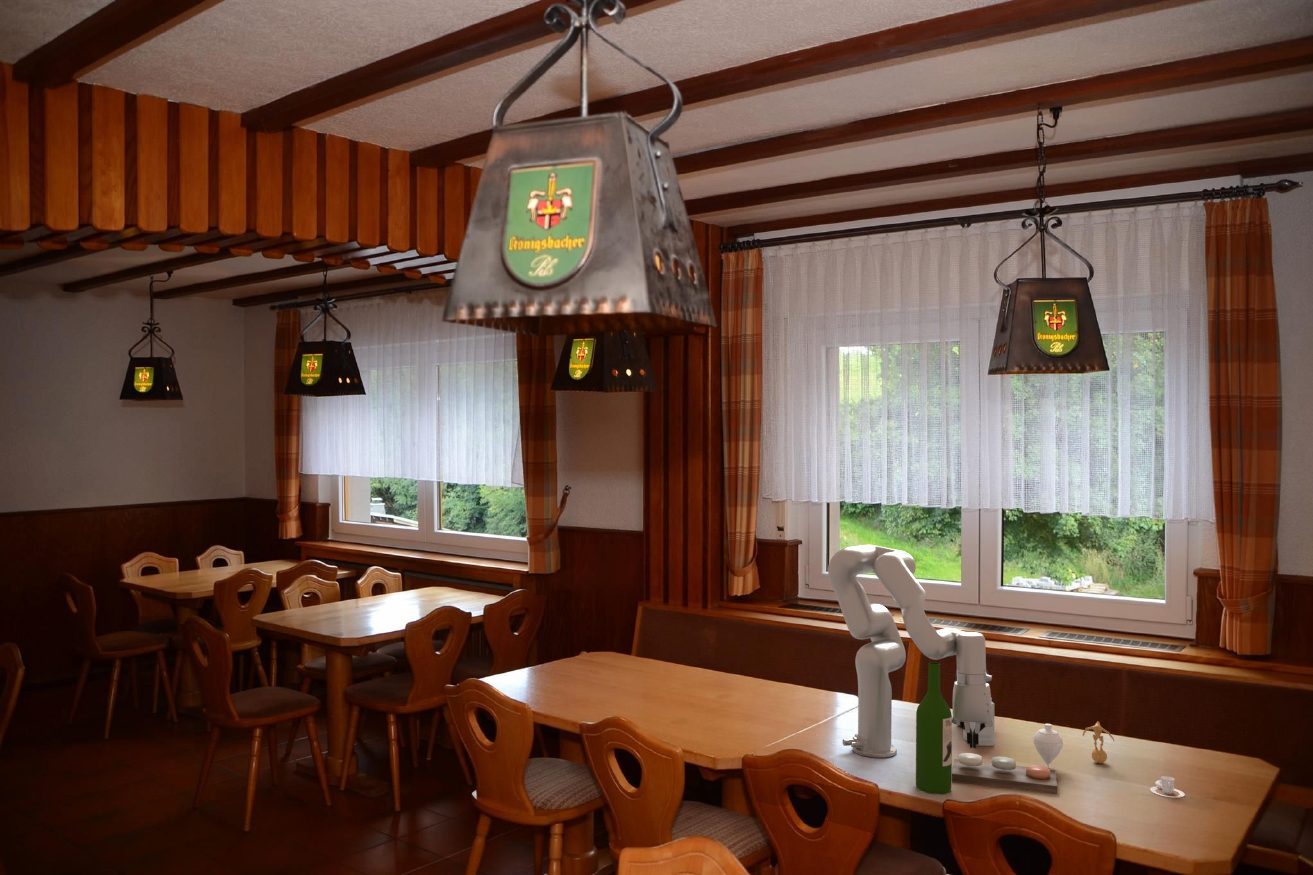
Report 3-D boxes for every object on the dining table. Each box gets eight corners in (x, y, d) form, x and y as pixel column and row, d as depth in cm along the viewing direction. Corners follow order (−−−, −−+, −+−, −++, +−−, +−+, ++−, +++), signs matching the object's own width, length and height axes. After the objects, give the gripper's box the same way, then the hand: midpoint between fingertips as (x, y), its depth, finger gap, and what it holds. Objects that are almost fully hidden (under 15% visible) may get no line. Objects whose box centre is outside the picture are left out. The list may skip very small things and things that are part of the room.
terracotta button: (1035, 779, 251) (1035, 773, 251) (1020, 771, 257) (1020, 765, 257) (1055, 777, 253) (1055, 771, 253) (1040, 770, 259) (1040, 764, 259)
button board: (1057, 793, 247) (1057, 786, 247) (951, 781, 256) (951, 773, 256) (1054, 777, 259) (1054, 770, 260) (954, 765, 268) (954, 758, 268)
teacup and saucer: (1154, 785, 255) (1154, 769, 255) (1188, 792, 250) (1188, 776, 250) (1146, 794, 249) (1146, 778, 249) (1181, 801, 244) (1181, 785, 244)
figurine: (1116, 763, 271) (1116, 721, 271) (1112, 769, 266) (1112, 726, 266) (1085, 758, 276) (1085, 716, 276) (1080, 763, 271) (1080, 721, 271)
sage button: (1001, 770, 254) (1001, 764, 254) (987, 763, 260) (987, 757, 260) (1020, 768, 256) (1020, 762, 256) (1006, 761, 262) (1006, 755, 262)
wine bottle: (946, 796, 245) (946, 668, 245) (911, 789, 249) (912, 664, 250) (955, 786, 252) (956, 662, 252) (921, 779, 257) (922, 657, 257)
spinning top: (1033, 770, 265) (1033, 726, 265) (1032, 761, 273) (1033, 719, 273) (1063, 773, 263) (1063, 729, 263) (1062, 764, 270) (1062, 722, 270)
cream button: (967, 766, 257) (967, 760, 257) (954, 759, 263) (954, 753, 263) (986, 764, 259) (986, 759, 259) (973, 757, 264) (973, 752, 264)
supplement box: (995, 746, 286) (995, 703, 287) (970, 745, 287) (970, 703, 287) (987, 738, 294) (987, 697, 294) (962, 738, 294) (962, 696, 294)
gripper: (1000, 677, 262) (1002, 745, 261) (943, 674, 267) (944, 740, 266) (1000, 683, 255) (1002, 753, 254) (942, 679, 260) (943, 748, 259)
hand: (972, 746), depth 260 cm, fingers closed
